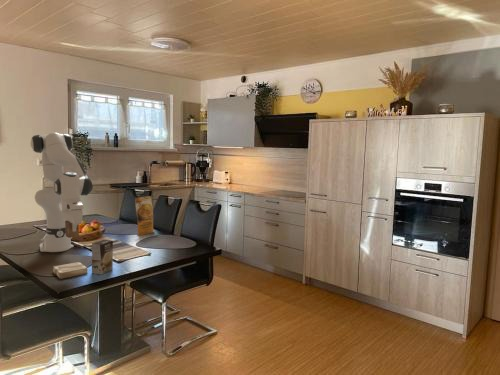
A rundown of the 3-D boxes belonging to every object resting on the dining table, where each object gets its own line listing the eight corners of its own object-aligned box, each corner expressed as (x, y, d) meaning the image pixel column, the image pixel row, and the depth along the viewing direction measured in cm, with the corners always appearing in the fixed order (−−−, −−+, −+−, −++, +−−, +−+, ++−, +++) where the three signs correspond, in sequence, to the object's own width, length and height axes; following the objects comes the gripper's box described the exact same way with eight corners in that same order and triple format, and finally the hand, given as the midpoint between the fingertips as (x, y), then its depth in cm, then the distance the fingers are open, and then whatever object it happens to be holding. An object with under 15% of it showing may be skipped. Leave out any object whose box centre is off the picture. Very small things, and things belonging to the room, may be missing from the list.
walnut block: (65, 235, 193) (65, 220, 192) (75, 234, 197) (75, 219, 196) (68, 237, 190) (68, 222, 189) (79, 236, 193) (78, 221, 192)
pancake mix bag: (131, 235, 274) (131, 197, 271) (150, 230, 291) (150, 194, 287) (138, 236, 271) (138, 198, 268) (156, 231, 287) (157, 195, 284)
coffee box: (101, 274, 192) (101, 244, 191) (91, 273, 194) (91, 243, 192) (113, 269, 201) (113, 240, 199) (103, 267, 203) (103, 239, 201)
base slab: (53, 271, 193) (53, 266, 193) (79, 267, 202) (79, 261, 202) (60, 278, 185) (60, 272, 184) (87, 273, 193) (87, 267, 193)
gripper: (58, 202, 197) (59, 227, 198) (71, 207, 182) (72, 234, 183) (70, 201, 201) (71, 226, 202) (84, 205, 186) (85, 232, 188)
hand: (72, 230), depth 193 cm, fingers closed on walnut block, 5 cm apart
